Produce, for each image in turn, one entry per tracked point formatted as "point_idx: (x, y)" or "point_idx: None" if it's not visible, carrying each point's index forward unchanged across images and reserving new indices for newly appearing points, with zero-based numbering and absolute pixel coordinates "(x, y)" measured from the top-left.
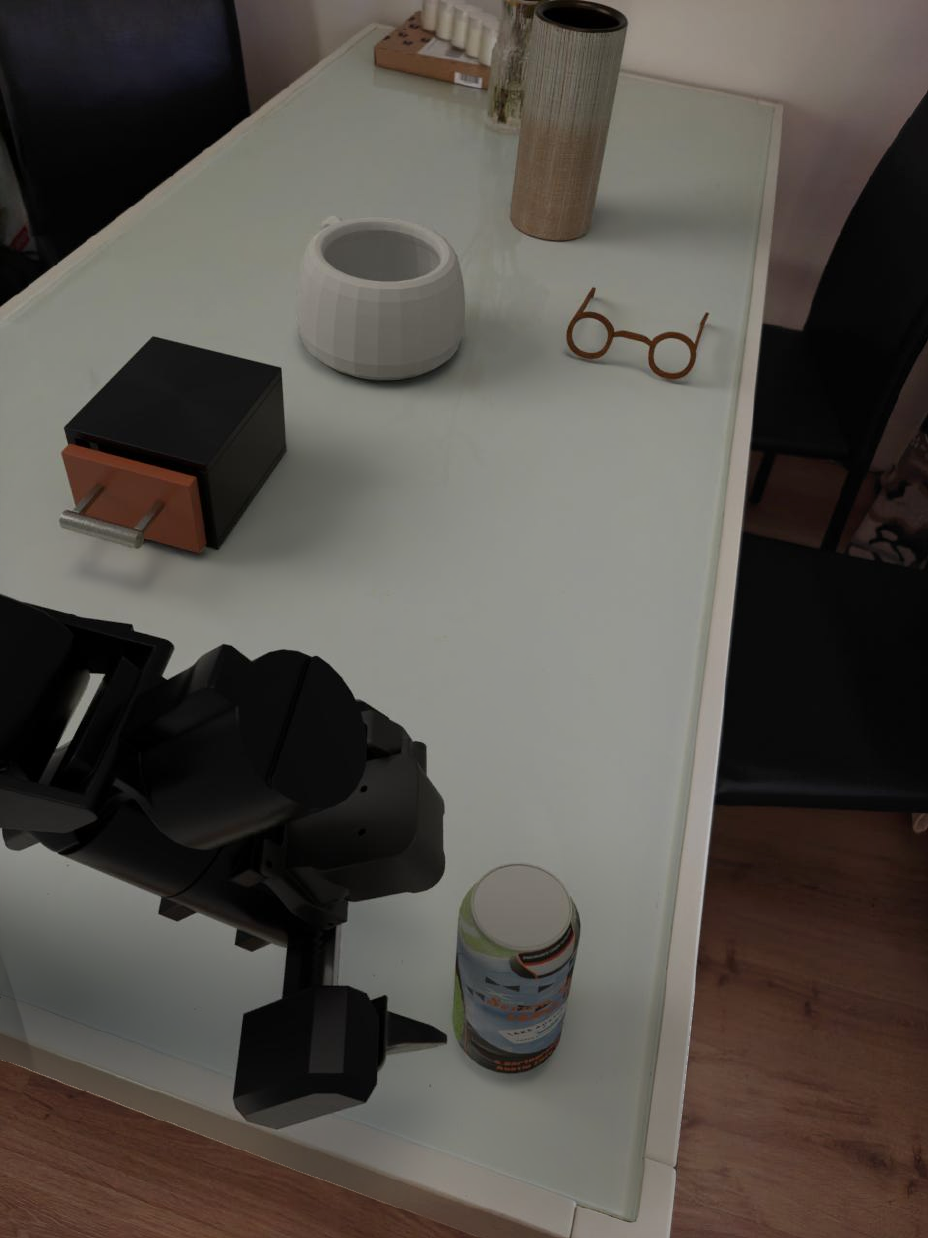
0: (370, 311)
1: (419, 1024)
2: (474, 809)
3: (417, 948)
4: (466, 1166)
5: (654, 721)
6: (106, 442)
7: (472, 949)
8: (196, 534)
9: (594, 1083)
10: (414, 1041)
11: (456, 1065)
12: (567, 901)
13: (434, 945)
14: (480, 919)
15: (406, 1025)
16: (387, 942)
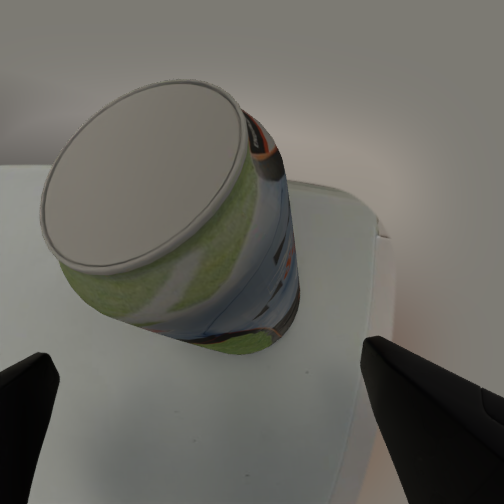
0: None
1: (426, 384)
2: (30, 328)
3: (160, 395)
4: (372, 327)
5: (6, 186)
6: None
7: (226, 277)
8: None
9: None
10: (469, 382)
11: (284, 347)
12: (136, 95)
13: (156, 377)
14: (154, 240)
15: (469, 409)
16: (156, 427)
